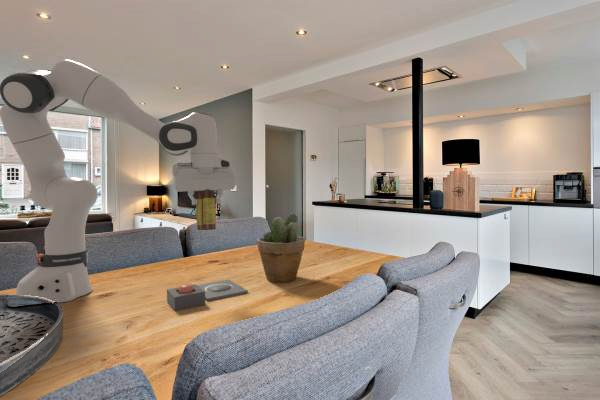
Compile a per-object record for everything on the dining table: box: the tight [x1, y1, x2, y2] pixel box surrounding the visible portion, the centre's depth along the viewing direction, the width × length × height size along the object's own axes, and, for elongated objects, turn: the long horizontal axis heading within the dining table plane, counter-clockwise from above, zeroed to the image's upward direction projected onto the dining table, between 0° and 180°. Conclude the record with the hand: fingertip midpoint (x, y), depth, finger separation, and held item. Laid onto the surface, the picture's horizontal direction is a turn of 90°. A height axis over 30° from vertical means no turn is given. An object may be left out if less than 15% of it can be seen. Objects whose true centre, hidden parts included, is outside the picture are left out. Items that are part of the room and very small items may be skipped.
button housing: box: [166, 284, 206, 311], centre depth 104 cm, size 9×9×4 cm
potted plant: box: [256, 212, 306, 284], centre depth 130 cm, size 18×19×25 cm
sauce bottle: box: [195, 189, 217, 231], centre depth 114 cm, size 7×6×20 cm
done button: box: [178, 283, 194, 294], centre depth 104 cm, size 4×4×3 cm
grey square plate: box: [196, 279, 249, 302], centre depth 117 cm, size 14×16×1 cm
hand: (206, 204), depth 114 cm, fingers closed on sauce bottle, 6 cm apart
